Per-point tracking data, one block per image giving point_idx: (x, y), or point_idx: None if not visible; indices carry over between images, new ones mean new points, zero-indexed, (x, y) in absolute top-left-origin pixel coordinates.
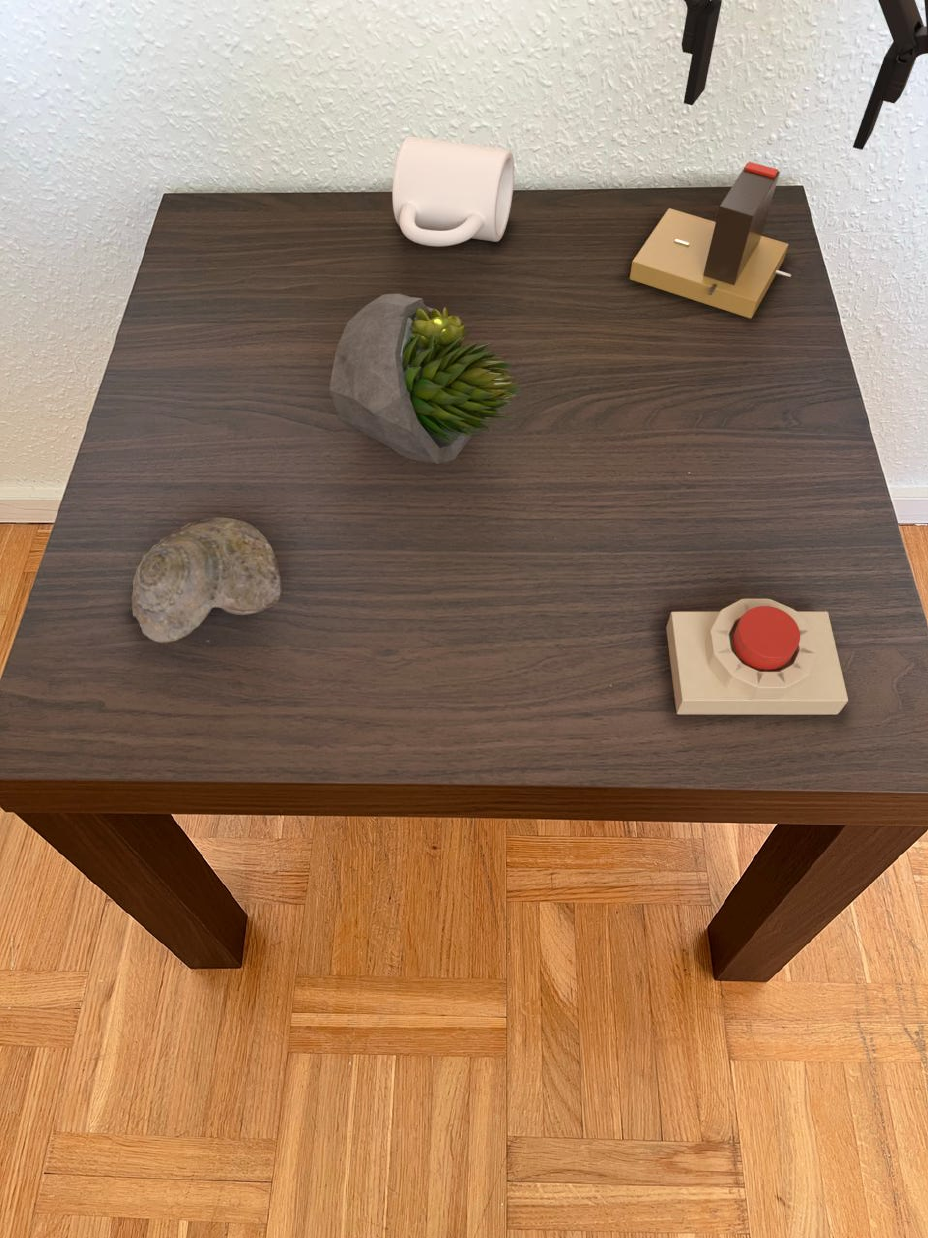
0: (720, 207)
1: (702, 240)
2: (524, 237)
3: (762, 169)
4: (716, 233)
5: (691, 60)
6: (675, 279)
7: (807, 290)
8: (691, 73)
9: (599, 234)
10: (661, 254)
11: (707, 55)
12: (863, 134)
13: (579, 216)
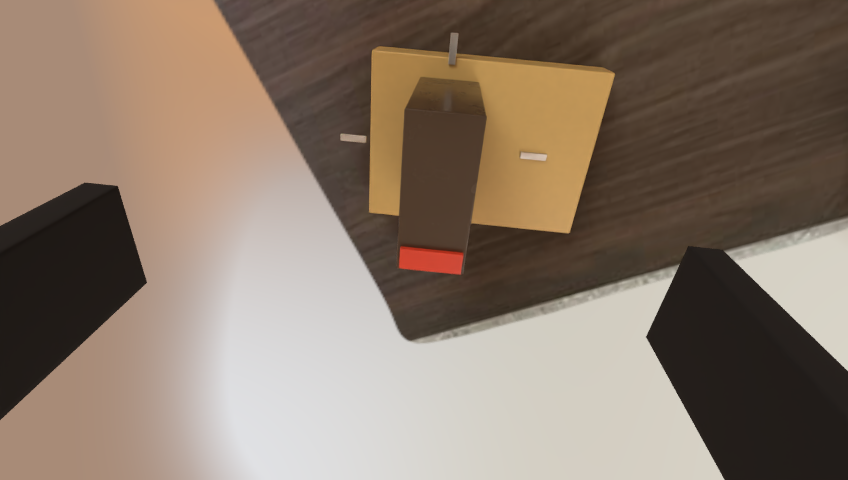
0: (484, 114)
1: (499, 174)
2: (815, 109)
3: (428, 259)
4: (476, 99)
5: (831, 358)
6: (525, 63)
7: (322, 150)
8: (781, 317)
9: (669, 164)
10: (563, 113)
11: (731, 410)
12: (60, 205)
13: (708, 196)
